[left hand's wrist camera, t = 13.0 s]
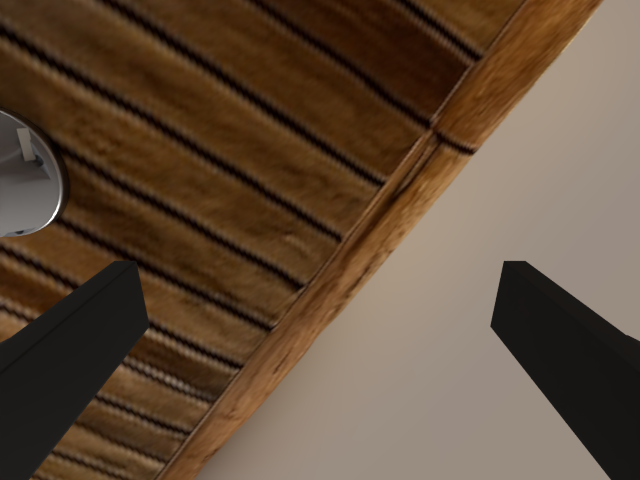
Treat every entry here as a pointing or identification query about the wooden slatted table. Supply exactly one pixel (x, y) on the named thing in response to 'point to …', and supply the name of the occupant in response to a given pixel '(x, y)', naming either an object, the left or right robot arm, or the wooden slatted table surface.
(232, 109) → the wooden slatted table surface
